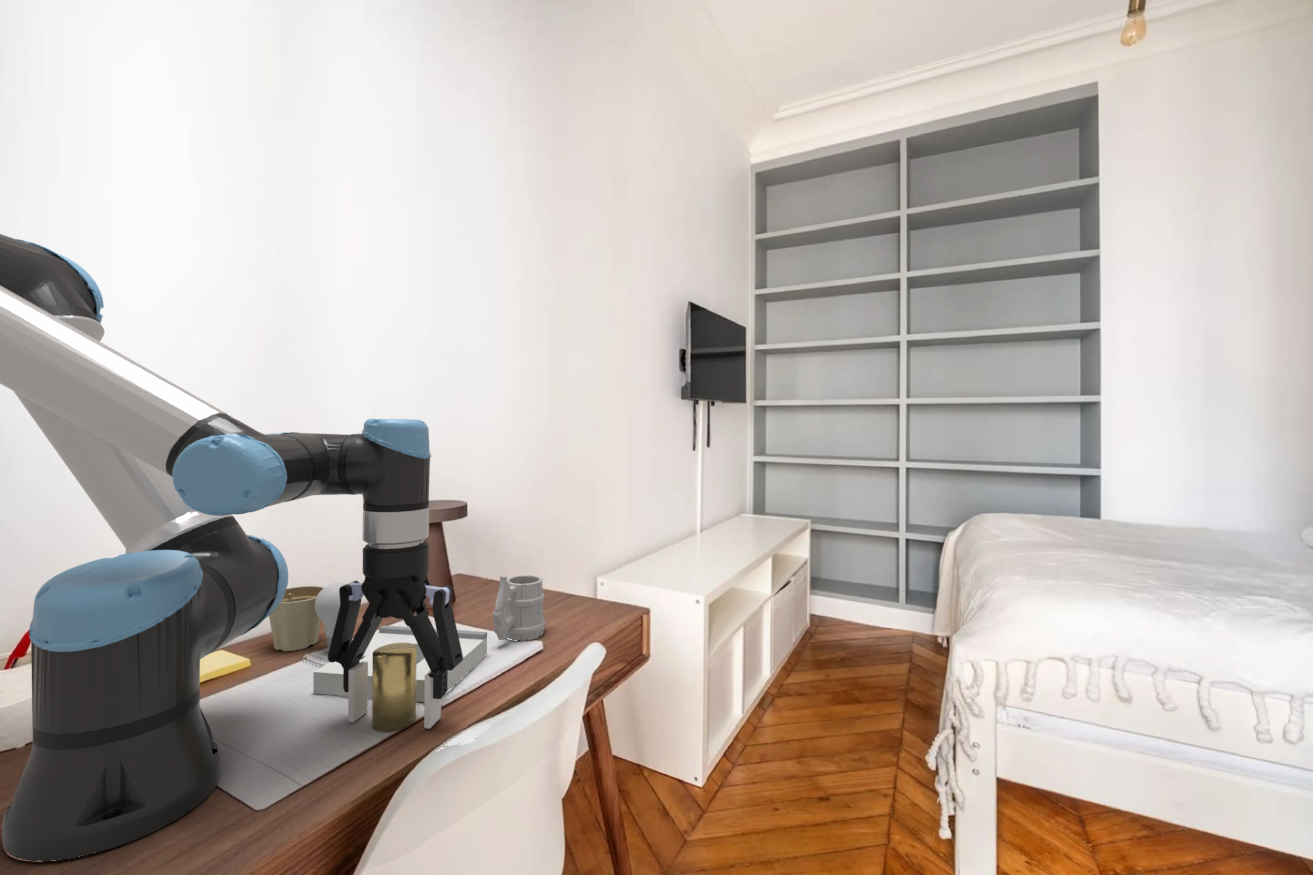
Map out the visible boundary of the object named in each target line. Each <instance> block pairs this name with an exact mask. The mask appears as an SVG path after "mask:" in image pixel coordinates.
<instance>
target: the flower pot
mask: <svg viewBox="0 0 1313 875" xmlns="http://www.w3.org/2000/svg"><path fill="white" fill-rule="evenodd" d="M325 587H326V586H321V585H303V586H302V585H301V586H293V587H287V588H286V592H285V595H284V597H283V599H282V601H281V603H280V604H279V606H278V607H277V608H276V609H275V611H274V612H273V613H272V614H270V615H269V616H268V618H269V623H270V624H269V625H270V630H271V635H272V636H271V637H272V642H273V649H275V650H276V651H280V650H281V651H282V652H293V651H301V650H305V649H307V648H308V647H310V645H313V646H315V644H317V642H319V636H320V635H319V634H320V628H321V623H322V620H321V619H320V617H319V616H318V614H317V612H316V610H315V600H316V597H317V595H318V594H319V592H320V591H321V590H322V589H323V588H325Z"/></svg>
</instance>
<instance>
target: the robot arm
mask: <svg viewBox="0 0 1313 875" xmlns="http://www.w3.org/2000/svg"><path fill="white" fill-rule="evenodd" d="M104 307H105V306H104V299H103V295H102V293H101V289H100V288H99V286H98V284H97V283H96V281H95V279H93V277H92V276H91V275H90V274H89V273H88V272H87V271H86V270H85V269H84V268H83V267H82V266H81V265H79V264H78V263H77V262H75V261H73V260H72V259H70V258H68V257H66V256H64V255H61V254H59V253H57V252H55V251H53V250H51V249H50V248H49V247H48V248H47V247H46V246H43V245H41V244H37V243H35V242H31V241H28V240H23V239H18V238H13V237H10V236H7V235H5V234H1V233H0V385H2V386H4V387H6V388H7V389H9V390H11V391H13V393H14V394H15V395H16V397H17V398H18V400H19V401H20V403H21V404H22V405H23V407H24V408H25V409H26V411H27V413H28V414H29V415H30V417H31V418H32V419H33V421H34V422H35V423H36V425H37V427H38V428H39V429H40V430H41V432H42V433H43V435H44V436H45V438H46V439H47V440H48V442H49V443H50V444H51V446H52V447H53V449H54V450H55V451H56V453H57V454H58V456H59V457H60V459H61V460H62V462H63V463H64V464H65V466H66V467H67V468H68V469H69V471H70V473H71V474H72V475H73V477H74V479H75V480H76V481H77V482H78V484H79V485H80V487H81V488H82V489H83V491H84V492H85V493H86V495H87V497H89V499H90V501H91V502H92V503H93V505H94V506H95V507H96V509H97V510H98V512H99V513H100V514H101V516H102V517H103V519H104V521H105V522H106V524H108V526H109V527H110V529H111V531H112V532H114V534H115V536H116V537H117V538H118V540H119V541H120V542H121V544H122V545H123V546H124V549H125V552H124V553H122V554H119V555H117V556H114V557H104V558H103V557H102V558H99V559H95V560H92V561H88V562H85V563H82V564H79V565H77V566H73V567H71V568H69V569H66V570H64V571H62V572H60V573H58V574H56V575H54V576H53V577H51V578H49V579H48V580H47V581H46V582H44V584H43V585H42V586H41V587H40V588H39V589H38V591H37V592H36V595H35V597H34V601H33V610H32V611H33V612H32V619H31V621H30V623H29V629H28V630H29V631H28V632H29V634H28V635H29V636H28V637H29V639H30V641H31V642H30V644H31V645H30V648H31V654H30V655H31V707H32V708H31V709H32V710H31V711H32V712H31V713H32V715H31V716H32V717H31V718H32V719H31V722H32V747H31V751H30V754H29V757H28V758H27V761H26V764H25V767H24V769H23V771H22V773H21V776H20V778H19V782H18V783H17V787H16V790H15V793H14V795H13V797H12V801H11V802H10V804H9V806H8V808H7V809H6V811H5V812H4V815H3V819H2V825H1V827H2V830H1V832H2V834H1V837H2V838H1V839H2V841H1V844H3V847H4V849H5V851H6V852H7V853H9V855H12V856H14V857H16V858H19V859H20V858H21V859H23V860H24V859H25V860H29V861H30V860H31V861H37V860H38V861H39V860H40V861H41V860H42V861H51V860H59V859H60V860H62V859H68V860H70V859H69V858H73V859H77V858H76V857H78V856H82V855H86V854H91V853H94V852H98V853H100V852H99V851H102V852H104V851H103V850H105V851H107V850H106V849H108V850H111V849H114V848H117V847H120V846H123V845H125V844H128V843H131V842H132V841H133V842H134V841H135V840H138V839H140V838H142V837H145V836H147V835H149V834H151V833H154V832H155V831H158V830H159V829H161V828H163V827H165V826H167V825H169V824H171V823H173V822H174V821H176V820H178V819H179V818H181V817H182V816H184V815H186V814H187V813H188V812H190V811H191V810H193V809H194V808H196V807H197V806H198V805H199V804H200V803H202V802H203V801H205V800H206V798H208V796H209V795H211V793H212V792H213V790H215V789H216V787H217V785H218V784H219V782H220V780H221V776H222V774H221V771H222V767H221V766H222V764H221V762H222V761H221V760H222V758H221V757H222V755H221V748H220V747H219V746H218V744H217V742H216V741H215V739H214V736H213V732H212V731H211V728H210V725H209V724H208V720H207V718H206V717H205V714H204V712H203V710H202V708H201V701H200V699H201V698H200V696H201V695H200V692H201V691H200V690H201V689H200V688H201V687H200V685H201V684H200V682H201V681H200V680H201V677H200V676H201V659H204V658H205V657H207V656H208V655H210V654H212V653H214V652H215V651H217V650H218V649H221V647H224V646H225V645H227V644H228V643H230V642H232V641H233V640H235V639H237V638H238V637H240V636H243V635H246V634H247V633H249V632H250V631H251V630H253V629H255V628H257V627H258V626H259V625H260V624H262V623H263V622H264V621H265V620H266V619H267V618H269V615H270V614H272V613H273V612H274V611H275V609H276V608H277V607H278V606H279V604H280V603H281V601H282V599H283V597H284V595H285V592H286V588H288V584H289V569H288V565H287V561H286V559H285V556H284V555H283V554H282V552H281V550H280V549H278V547H277V546H276V545H274V544H273V543H272V542H270V541H269V540H267V539H264V538H261V537H258V536H254V535H250V534H247V533H246V532H245V531H244V529H243V528H242V526H241V525H240V524H239V522H238V521H237V518H235V516H234V515H244V514H248V513H249V514H250V513H254V512H257V511H261V510H263V509H264V510H265V508H268V507H271V506H275V505H279V504H283V503H288V502H292V501H296V500H300V499H304V498H308V497H311V496H312V497H313V496H330V495H331V496H332V495H335V496H336V495H340V496H341V495H350V496H351V495H352V496H353V495H354V496H356V495H357V496H358V495H362V502H363V503H362V541H363V542H365V543H366V544H365V545H364V547H363V548H362V574H363V576H364V580H363V582H359V580H354V581H351V582H349V583H345V584H346V585H344V586H341V587H340V589H339V594H340V608H339V612H338V616H337V620H336V624H335V628H334V633H333V637H332V641H331V645H330V649H329V648H328V649H329V650H328V653H327V660H328V663H329V662H332V663H333V662H337V663H340V664H341V666H342V667H343V683H344V684H343V689H344V691H345V692H348V696H347V697H348V704H347V706H348V709H347V710H348V711H347V712H348V713H347V716H348V717H347V722H348V723H355V722H357V721H358V720H359V719H360V718H361V717H362V716H364V715H365V714H367V713H368V708H369V707H368V706H369V705H368V704H369V701H368V699H369V698H368V661H362V662H360V660H361V659H363V658H364V657H365V656H364V657H363V655H364V653H365V651H366V649H367V647H368V645H369V644H370V642H371V640H372V638H373V636H375V635H376V634H375V633H376V632H377V630H378V629H379V627H380V625H381V622H382V621H383V619H387V618H394V619H399V620H400V619H401V620H402V621H403V622H404V624H405V625H406V627H410V628H411V630H412V633H413V635H414V637H415V639H416V641H417V643H418V645H419V647H420V649H421V652H422V654H423V656H424V658H425V660H426V662H427V664H428V666H429V668H430V670H431V671H429V672H428V673H427V674H426V675H425V689H424V702H423V704H424V707H423V710H424V713H423V716H424V719H423V720H424V722H423V727H424V729H431V728H432V727H433V726H434V725H435V724H436V723H437V722H438V721H439V720H440V719H441V718H442V699H443V698H444V697H445V696H446V695H447V694H446V692H447V688H448V686H447V685H448V683H447V682H448V671H451V670H453V669H454V668H455V667H456V666H457V665H458V664H459V663H460V662H462V661H463V654H462V650H461V645H460V641H459V637H458V632H457V630H458V629H457V625H456V620H455V615H454V610H453V607H452V606H453V605H452V600H453V598H452V597H453V587H452V586H451V585H445V586H443V587H440V586H433V585H431V583H430V581H429V579H428V572H429V567H430V553H429V552H430V544H429V542H427V541H426V540H425V539H427V538H429V535H430V501H429V500H430V475H431V474H430V471H431V458H432V453H431V451H430V430H429V426H428V425H427V423H426V422H425V421H423V420H422V419H421V420H420V419H406V418H405V419H403V418H402V419H401V418H368V419H367V420H365V421H364V423H363V429H362V431H361V433H351V434H345V433H344V434H341V433H340V434H339V433H337V434H336V433H312V432H311V433H310V432H309V433H307V432H306V433H305V432H294V431H291V432H285V431H284V432H279V433H277V432H276V433H265V434H264V433H262V432H260V431H258V430H256V429H254V428H252V427H251V426H249V425H247V424H246V423H244V422H242V421H241V420H238V419H236V418H234V417H233V416H231V415H229V414H228V413H226V412H225V411H223V410H221V409H219V408H218V407H216V406H214V405H212V403H209V402H207V401H205V400H204V399H202V398H200V397H198V396H196V395H195V394H193V393H191V392H189V391H188V390H186V389H184V388H183V387H181V386H179V385H178V384H175V383H174V382H172V381H170V380H169V379H166V378H165V377H164V376H161V375H159V374H158V373H156V372H154V371H152V370H151V369H149V368H147V367H145V366H144V365H142V364H140V363H138V362H136V361H135V360H133V359H131V358H130V357H127V356H126V355H124V354H122V353H120V352H119V351H118V350H115V349H114V348H112V347H110V346H108V345H106V344H104V343H103V342H101V341H102V339H103V338H104V335H105V329H104V327H103V325H102V319H103V314H101V309H103V308H104ZM362 598H365V599H366V600H367V602H368V605H367V608H366V610H365V611H364V613H363V614H362V615H363V616H362V621H361V622H360V624H359V626H358V628H357V631H356V633H355V634H354V632H355V630H356V629H355V628H356V625H357V620H358V617H359V611H360V608H361V603H362ZM426 598H428V599H429V605H430V606H432V615H433V619H434V624H435V625H433V623H432V621H431V620H430V617H429V614H430V612H429V609H428V606H427V605H426V604H425V600H426ZM414 613H416V614H414ZM434 626H435V628H434ZM435 629H437V634H438V636H437V634H436V632H435ZM445 694H446V695H445ZM444 695H445V696H444ZM443 696H444V697H443ZM442 697H443V698H442ZM441 698H442V699H441ZM3 847H2V848H3ZM110 848H111V849H110ZM91 855H92V854H91ZM74 857H75V858H74ZM78 858H79V857H78ZM62 861H63V860H62Z"/></svg>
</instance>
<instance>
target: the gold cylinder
mask: <svg viewBox="0 0 1313 875" xmlns="http://www.w3.org/2000/svg"><path fill="white" fill-rule="evenodd" d="M416 662H417V647H416V645H414V644H411V643H393V644H388V645H385V646H382V647H379V648H377V649H376V650H375V651H374V652H373V673H372V698H371V699H372V700H371V701H372V702H371V727H372V730H375V731H376V732H379V733H391V732H392V733H393V732H397V731H402V730H403V729H406V728H408V727H409V726H411V725H412V724H413V723H414V722H415V721H416V718H417V702H416V664H417V663H416Z"/></svg>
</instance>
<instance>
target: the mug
mask: <svg viewBox="0 0 1313 875" xmlns="http://www.w3.org/2000/svg"><path fill="white" fill-rule="evenodd" d="M499 581H500V582H499V589H498V591H497V594H496V599H495V602H494V603H495V607H494V610H493V612H492V619H493V620H492V621H493V629H494V630H493V631H494V634H496V637H497V639H498V640H499V641H503V640H505V639H506V638H509V639H512V640H520V641H521V640H523V641H522V642H524V641H527V642H528V641H529V642H530V641H532V640H536V639H538V638H540V637H542V636H543V634H544V629H545V628H546V620H545V618H544V600H545V599H546V597H545V593H544V592H543V579H542V577H541V576H538V575H537V576H536V575H532V574H523V575H522V574H521V575H514V576H512V577H509V578H508V577H507V576H506V575H502V574H501V575H500V576H499ZM505 637H506V638H505Z"/></svg>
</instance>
